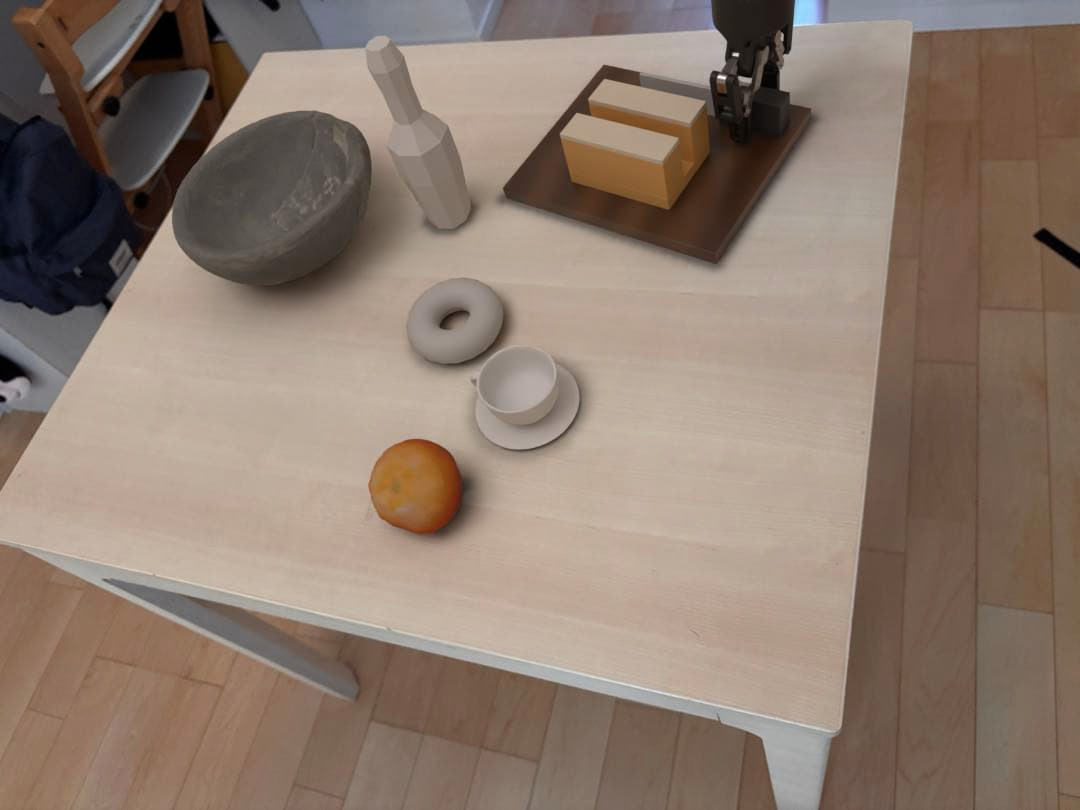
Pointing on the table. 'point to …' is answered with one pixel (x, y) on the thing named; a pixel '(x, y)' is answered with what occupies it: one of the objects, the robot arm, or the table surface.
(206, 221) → the bowl
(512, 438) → the teacup
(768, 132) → the kitchen blade
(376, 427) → the table surface
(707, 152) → the orange u-shaped channel
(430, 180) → the faceted bottle
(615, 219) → the board
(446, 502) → the fruit
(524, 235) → the table surface
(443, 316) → the donut
